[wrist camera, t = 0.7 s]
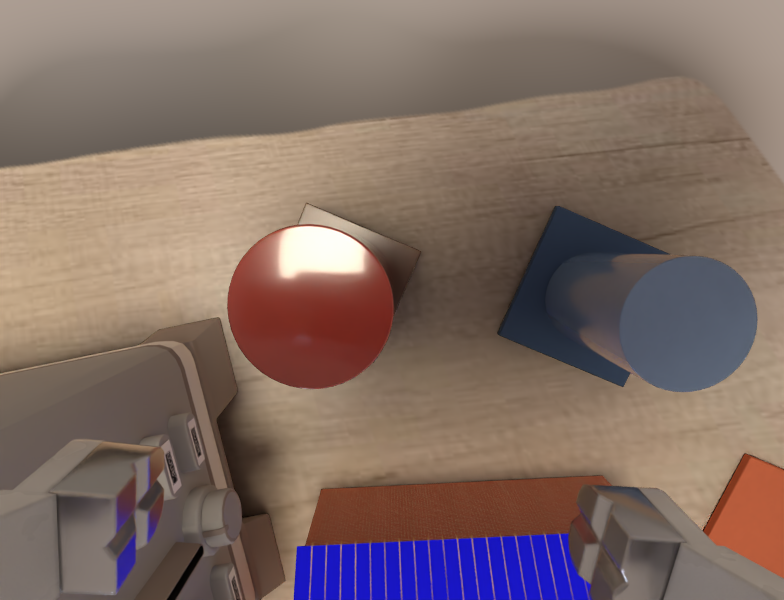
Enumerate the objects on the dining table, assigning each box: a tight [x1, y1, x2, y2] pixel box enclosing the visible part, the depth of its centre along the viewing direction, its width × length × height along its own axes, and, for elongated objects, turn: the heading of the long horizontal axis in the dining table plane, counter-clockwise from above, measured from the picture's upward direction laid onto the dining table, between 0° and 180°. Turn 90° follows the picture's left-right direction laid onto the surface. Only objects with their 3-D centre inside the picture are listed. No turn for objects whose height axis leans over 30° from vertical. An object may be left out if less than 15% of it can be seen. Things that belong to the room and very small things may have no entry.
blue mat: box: [498, 206, 670, 387], centre depth 31 cm, size 9×9×1 cm
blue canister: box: [545, 252, 757, 392], centre depth 25 cm, size 6×6×10 cm
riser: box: [298, 203, 421, 363], centre depth 29 cm, size 7×7×4 cm
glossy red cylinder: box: [227, 224, 394, 389], centre depth 22 cm, size 6×6×10 cm
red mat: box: [703, 454, 784, 578], centre depth 33 cm, size 9×9×1 cm
